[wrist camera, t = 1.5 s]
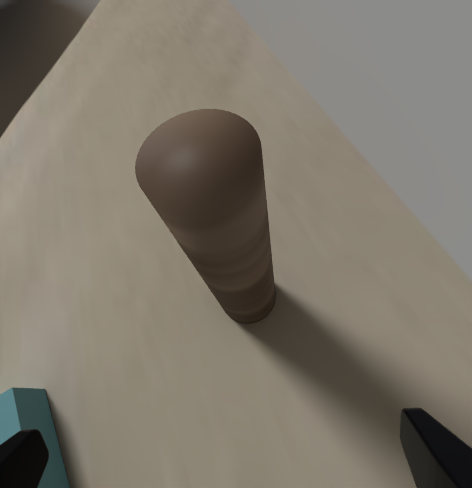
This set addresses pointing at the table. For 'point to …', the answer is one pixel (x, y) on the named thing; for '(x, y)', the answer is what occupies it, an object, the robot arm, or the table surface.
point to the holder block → (33, 417)
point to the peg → (214, 204)
